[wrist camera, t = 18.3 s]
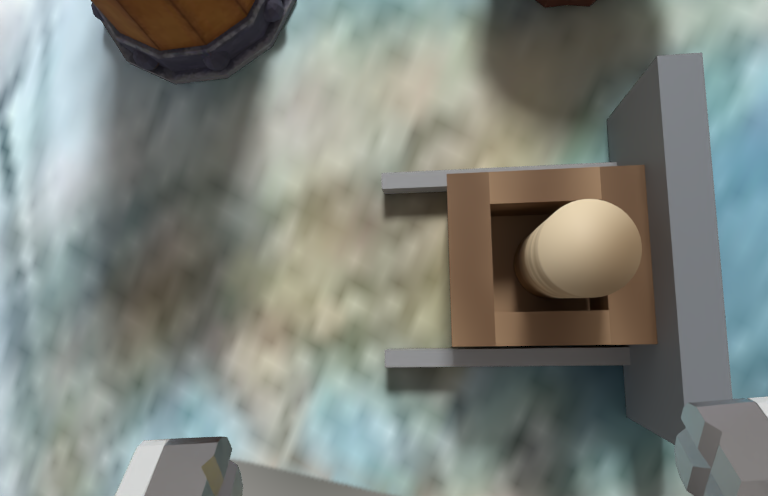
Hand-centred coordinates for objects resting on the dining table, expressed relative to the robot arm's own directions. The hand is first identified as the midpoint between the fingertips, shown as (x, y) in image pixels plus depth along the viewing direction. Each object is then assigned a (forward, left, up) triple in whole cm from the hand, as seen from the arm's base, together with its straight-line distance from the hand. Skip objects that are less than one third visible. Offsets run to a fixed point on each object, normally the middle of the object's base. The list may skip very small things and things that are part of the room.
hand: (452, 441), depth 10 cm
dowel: (+2, +7, -23) cm, 24 cm away
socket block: (+1, +7, -25) cm, 26 cm away
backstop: (0, +7, -25) cm, 26 cm away
